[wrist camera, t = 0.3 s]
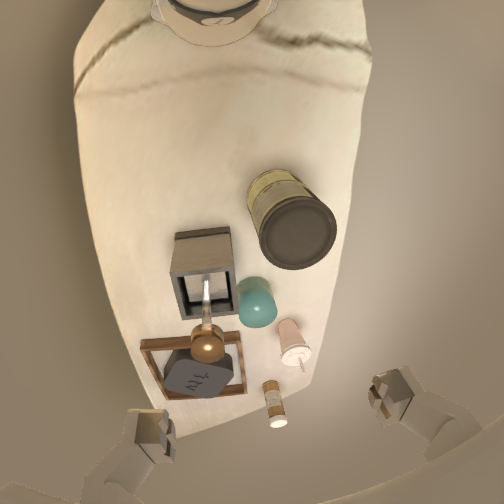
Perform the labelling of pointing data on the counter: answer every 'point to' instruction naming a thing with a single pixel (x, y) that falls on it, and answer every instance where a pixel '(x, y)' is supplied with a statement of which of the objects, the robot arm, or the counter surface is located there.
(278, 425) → the sprinkles bottle
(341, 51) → the counter surface
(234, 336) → the wooden square frame
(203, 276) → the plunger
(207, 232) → the square gray utensil holder
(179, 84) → the counter surface
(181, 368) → the streaming box
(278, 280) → the counter surface
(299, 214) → the coffee can
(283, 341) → the smoothie
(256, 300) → the teal pillar candle
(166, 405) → the counter surface
